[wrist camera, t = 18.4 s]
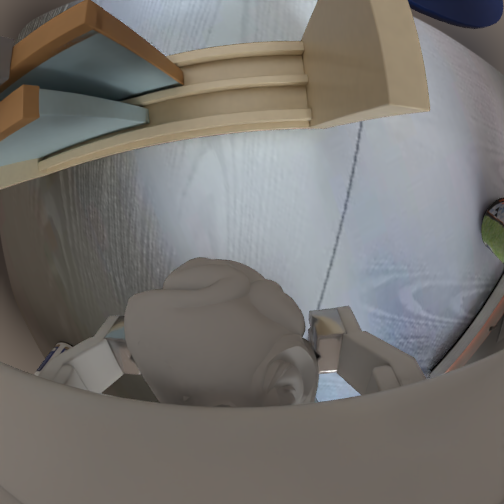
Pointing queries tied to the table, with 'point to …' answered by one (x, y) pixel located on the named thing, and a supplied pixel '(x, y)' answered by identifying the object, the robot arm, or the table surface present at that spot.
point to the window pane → (86, 58)
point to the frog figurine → (221, 339)
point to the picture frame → (478, 335)
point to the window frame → (231, 92)
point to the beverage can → (494, 228)
